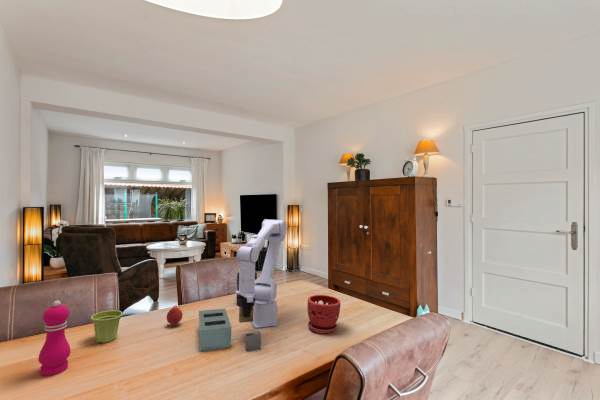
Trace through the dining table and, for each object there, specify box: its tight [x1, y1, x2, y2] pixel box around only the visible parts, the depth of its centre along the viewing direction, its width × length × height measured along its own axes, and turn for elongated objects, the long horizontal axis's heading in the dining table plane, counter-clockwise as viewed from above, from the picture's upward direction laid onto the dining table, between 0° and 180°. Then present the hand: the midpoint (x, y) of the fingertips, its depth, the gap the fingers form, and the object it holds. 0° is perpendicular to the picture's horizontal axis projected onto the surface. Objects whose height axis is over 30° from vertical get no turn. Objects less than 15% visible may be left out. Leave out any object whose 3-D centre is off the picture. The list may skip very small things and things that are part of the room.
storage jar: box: [235, 271, 258, 308], centre depth 149 cm, size 10×10×15 cm
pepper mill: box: [38, 299, 72, 377], centre depth 88 cm, size 7×7×20 cm
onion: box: [166, 304, 183, 327], centre depth 121 cm, size 6×6×8 cm
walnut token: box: [238, 306, 254, 324], centre depth 112 cm, size 5×2×5 cm, turn 110°
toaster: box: [197, 308, 232, 353], centre depth 111 cm, size 10×19×7 cm, turn 20°
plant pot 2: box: [307, 294, 341, 334], centre depth 121 cm, size 13×13×12 cm
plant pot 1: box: [90, 309, 123, 344], centre depth 107 cm, size 9×9×9 cm
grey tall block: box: [244, 331, 262, 352], centre depth 103 cm, size 5×2×5 cm, turn 110°
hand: (246, 315), depth 112 cm, fingers closed on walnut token, 2 cm apart
